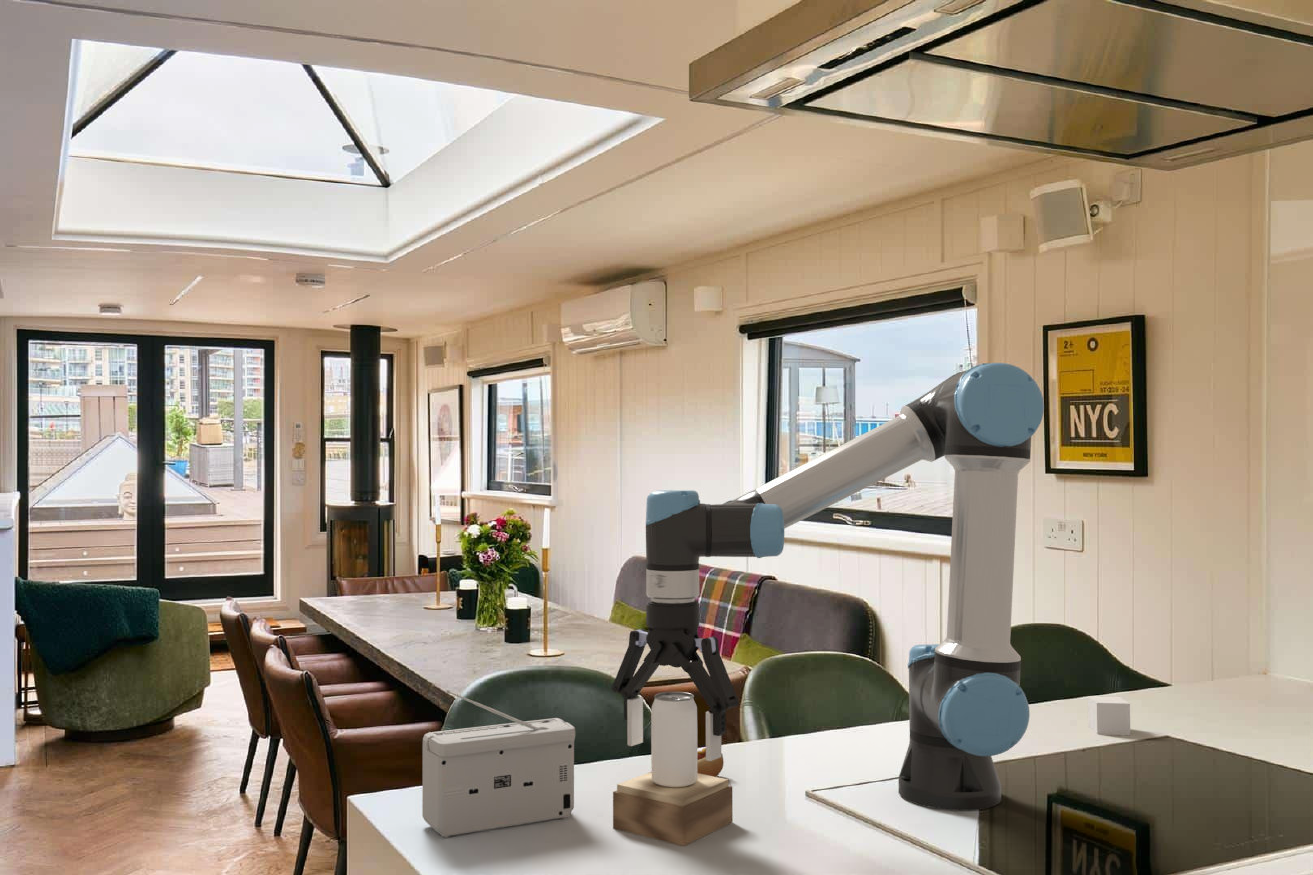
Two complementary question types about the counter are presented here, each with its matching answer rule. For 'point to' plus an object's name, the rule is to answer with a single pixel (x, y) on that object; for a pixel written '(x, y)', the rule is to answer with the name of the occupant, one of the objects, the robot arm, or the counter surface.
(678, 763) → the can
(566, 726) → the stereo radio cassette player
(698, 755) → the food
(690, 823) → the pedestal
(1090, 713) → the grey cube
